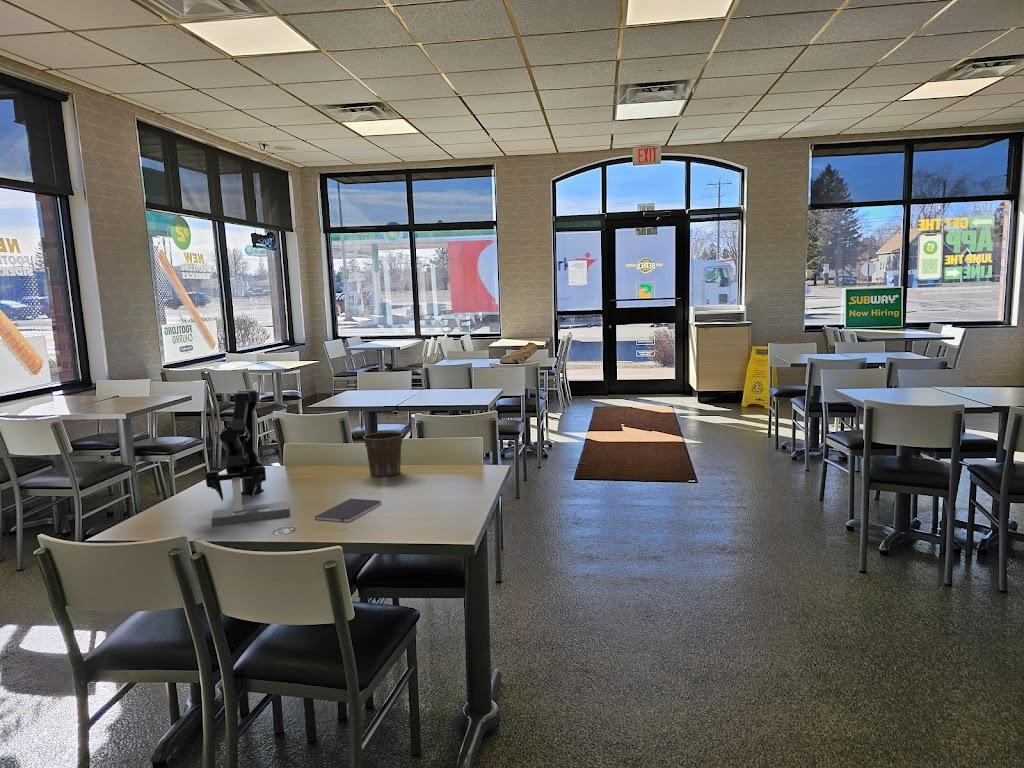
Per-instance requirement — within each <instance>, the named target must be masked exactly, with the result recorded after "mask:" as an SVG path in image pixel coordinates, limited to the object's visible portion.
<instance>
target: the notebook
mask: <svg viewBox="0 0 1024 768" xmlns="http://www.w3.org/2000/svg"><path fill="white" fill-rule="evenodd" d="M381 503H382V501H381V500H374V499H362V498H361V499H359V498H349V499H347V500H345V501H343V502H341V503H339V504H337V505H335V506H334V507H331V508H329V509H327V510H325V511H323V512H322V513H319V514H317V515H315V516H314V518H315V520H317V521H318V520H319V521H320V520H321V521H332V522H342V523H344V522H347V523H349V522H351V521H353V520H355V519H357V518H359V517H361V516H362V515H364V514H366V513H368V512H369V511H371V510H374V509H375V508H376V507H378V506H380V505H381Z"/></svg>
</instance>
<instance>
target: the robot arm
mask: <svg viewBox="0 0 1024 768" xmlns="http://www.w3.org/2000/svg"><path fill="white" fill-rule="evenodd" d="M260 399H261V397H260V392H259V391H257V390H256V389H241V390H240V389H239V390H238V392H236V393H233V402H234V408H233V413H232V414H233V415H232V420H231V422H229V424H227V427H226V429H225V430H223V431H221V432H220V434H219V440H220V442H221V445H222V447H223V449H224V451H226V452H225V454H226V455H225V457H226V463H225V472H226V473H224V474H219V471H218V470H214V471H207V472H206V473H205V477H204V478H205V482H206V487H207V488H211V489H212V490H215V491H216V492H217V495H219V498H220V500H221V501H222V502H223V501H224V495H223V491H222V490H223V489H222V486H221V482H222V481H232V478H237V477H240V480H241V495H251V498H253V497H254V495H256V494H258V493H262V492H264V491H265V489H263V488H262V483H263V482H265V481H266V480H267V474H266V467H265V466H264V465H263V464H262V462H261V461H260V457H259V455H258V453H257V451H256V448H255V445H256V444H255V412H256V410H257V409H258V407H259V402H260Z"/></svg>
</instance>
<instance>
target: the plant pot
mask: <svg viewBox="0 0 1024 768" xmlns="http://www.w3.org/2000/svg"><path fill="white" fill-rule="evenodd" d="M403 436H404V433H402V432H397V431H386V432H385V431H383V432H382V431H381V432H375V433H369V434H365V435H363V440H364V445H365V447H366V453H367V461H368V466H369V473H370V475H371V476H373V477H377V478H385V477H389V476H391V475H393V476H396V475H395V474H397V475H399V474H400V473H401V462H402V461H401V458H402V457H401V455H402V444H403ZM399 472H400V473H399ZM398 473H399V474H398Z"/></svg>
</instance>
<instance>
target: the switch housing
mask: <svg viewBox="0 0 1024 768" xmlns="http://www.w3.org/2000/svg"><path fill="white" fill-rule="evenodd" d="M290 516H291V509H290V503H289V501H288V500H286V501H278V502H271V503H263V504H261V503H260V504H256V505H255V504H253V505H248V506H247V505H246V506H242V511H236V512H235V511H234V507H231V508H222V509H215V510H213V511H212V516H211V525H212V526H213V527H215V526H223V525H229V524H237V523H244V522H252V521H260V520H266V519H267V520H268V519H273V518H282V517H290Z"/></svg>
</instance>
